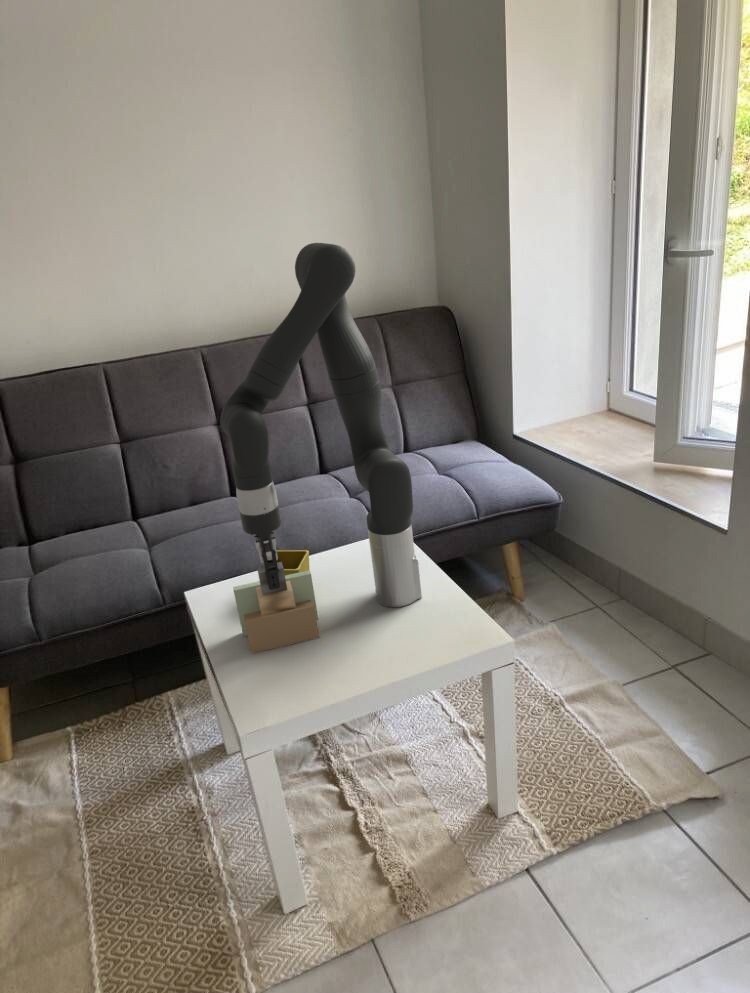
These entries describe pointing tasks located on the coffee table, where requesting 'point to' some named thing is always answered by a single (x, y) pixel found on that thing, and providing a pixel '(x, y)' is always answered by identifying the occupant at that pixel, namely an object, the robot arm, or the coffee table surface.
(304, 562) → the flower pot
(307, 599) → the wall board
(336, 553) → the coffee table surface
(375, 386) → the robot arm
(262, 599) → the cabinet block
